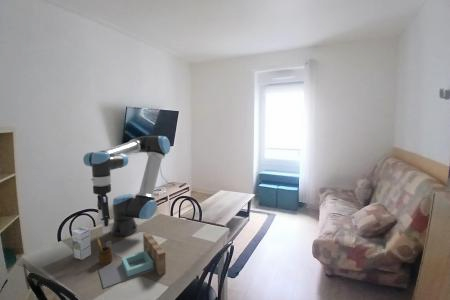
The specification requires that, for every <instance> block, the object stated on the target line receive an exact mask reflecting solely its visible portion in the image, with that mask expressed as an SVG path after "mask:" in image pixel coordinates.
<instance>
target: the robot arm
mask: <svg viewBox="0 0 450 300" xmlns="http://www.w3.org/2000/svg"><path fill="white" fill-rule="evenodd" d="M170 150H171V143H170V140H169V139H168V137H167V136H164V135H142V136H139V137H136V138H133V139H130V140H129V141H128V142H125V143H122V144H121V143H120V144H119V145H115V146H113V147H108V148H106V149H103V150H100V151H96V152H93V151H91V152H87V153H85V154H84V156H83V158H82V159H83V163H84V165H85V166H86V167H91V171H92V178H91V179H90V180H91V181H92V185H93V186H92V193H93V194H94V195H97V197H96V198H97V206H96V207H97V213H98V223H102V224H101V225H102V233H103V234H106V233H111V235H112V236H113V237H117V238H119V237H120V238H121V237H128V236H131V235H132V234H135V233H136V232H137V231H138V225H137V223H136V220H135V219H140V220H150V219H152V217H153V216H154V215H155V214H156V211H157V207H158V205H157V204H158V203H157V201H156V200H155V199H156V198H155V196H154V194H155V193H154V192H155V188H156V186H157V180H158V175H159V171H160V168H161V163H162V160H163V159H164V158H165V156H166V155H168V154H169V153H170ZM138 153H146V155H147V156H148V157H147V161H146V164H145V169H144V173H143V177H142V180H141V184H140V188H139V191H138V193H136V194H135V197H134V194H130V193H127V194H121V195H118V196H116V197H114V198H113V200H112V209H113V210H112V211H113V212H112V213H113V223H112V226H111V229H110V219H111V217H110V210H109V196H107V194H108V193H110V192H112V186H111V185H112V184H111V182H112V180H111V171H112V170H117V169H121V168H123V167H127V165H128V163H129V157H128V156H129V155H132V154H138Z"/></svg>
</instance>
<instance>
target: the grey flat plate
mask: <svg viewBox="0 0 450 300" xmlns="http://www.w3.org/2000/svg"><path fill="white" fill-rule="evenodd" d="M145 262H146V261H145V260H144V259H141V260H138V261H135V262H132V263H129V266H130V268H131V267H134V266H137V265H139V264H142V263H145ZM153 267H154V266H153ZM153 271H156V269H155V267H154V268H151V269H149V270H146V271H143V272H140V273H137V274H135V275H132V276H129V277H128V276H127V274H126V272H125V270H124V267H123V265H122V262H119V263H117V264H113V265H111V266H107V267H105V268H101V269H99V270H98V273H99V276H100V281H101V284H102V288H103V289H107V288H109V287H111V286H114V285H115V286H116V285H118V284H120V283H123V282H125V281H128V280H131V279H133V278H137V277H139V276H142V275H144V274H147V273H150V272H153Z"/></svg>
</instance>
